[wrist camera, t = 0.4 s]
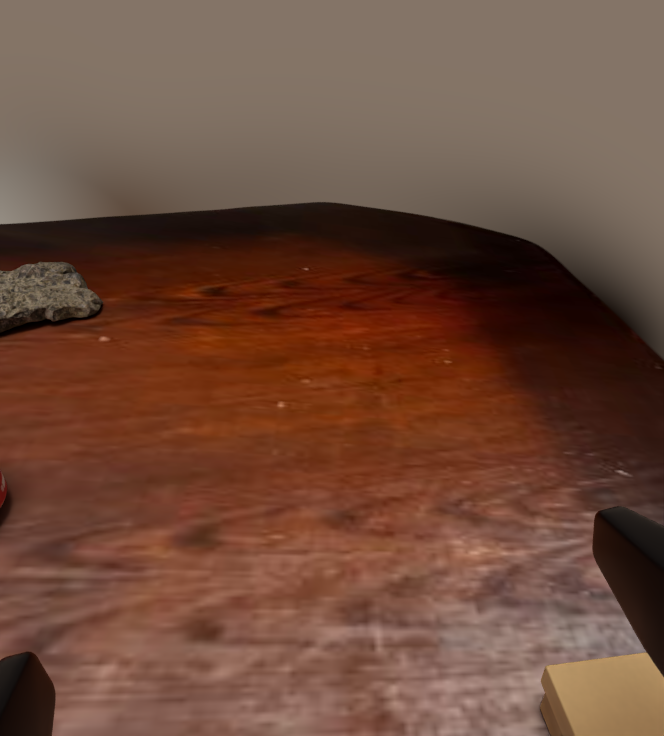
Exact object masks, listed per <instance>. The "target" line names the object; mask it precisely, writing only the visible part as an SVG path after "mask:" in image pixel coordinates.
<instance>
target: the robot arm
mask: <svg viewBox="0 0 664 736" xmlns="http://www.w3.org/2000/svg"><path fill="white" fill-rule="evenodd" d="M592 548H593V555H594V558H595V560H596V563H597V565H598V566H599V568H600V570H601V572H602V574H603V575H604V577H605V579H606V581H607V583H608V584H609V586H610V588H611V590H612V592H613V594H614V595H615V597H616V599H617V601H618V603H619V604H620V606H621V608H622V610H623V612H624V613H625V615H626V617H627V619H628V621H629V622H630V624H631V626H632V628H633V630H634V631H635V633H636V635H637V637H638V639H639V640H640V642H641V644H642V645H643V647H644V649H645V650H646V652H647V653H648V655H649V656H650V658H651V660H652V661H653V663H654V664H655V666H656V667H657V668H658V670H659V671H660V673H661V674H662V676H663V677H664V526H663V525H660V524H658V523H656V522H654V521H652V520H650V519H648V518H646V517H644V516H642V515H640V514H638V513H636V512H634V511H632V510H630V509H628V508H625V507H621V506H617V507H613V508H609V509H605V510H601V511H598V512H597V513H596V515H595V519H594V532H593V546H592ZM54 709H55V689H54V685H53V683H52V681H51V679H50V678H49V676H48V674H47V673H46V671H45V669H44V668H43V666H42V664H41V663H40V661H39V659H38V658H37V656H36V655H35V654H34V653H32V652H24V653H20V654H16V655H12V656H8V657H5V658H3V659H2V660H0V736H52V728H53V719H54Z"/></svg>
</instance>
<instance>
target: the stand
mask: <svg viewBox="0 0 664 736" xmlns="http://www.w3.org/2000/svg"><path fill="white" fill-rule="evenodd" d="M541 683H542V686H543V688H544V691H545V694H544V697H543V700H542V703H541V706H540V709H541V712H542V715H543V717H544V720H545V722H546V725H547V727H548V730H549V732H550V735H551V736H664V677H663V676H662V674H661V673H660V671H659V670H658V668H657V667H656V666H655V664H654V663H653V661H652V660H651V658H650V656H649V655H648V653H647V652H646V653H639V654H631V655H624V656H616V657H608V658H601V659H593V660H586V661H578V662H571V663H563V664H556V665H548V666H546V667H545V670H544V673H543V676H542V679H541Z"/></svg>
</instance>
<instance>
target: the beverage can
mask: <svg viewBox="0 0 664 736" xmlns="http://www.w3.org/2000/svg"><path fill="white" fill-rule="evenodd" d="M6 493H7V484H6V481H5V479H4V477H3V475H2V473H1V470H0V508H1V506H2V504H3V502H4V500H5V497H6Z"/></svg>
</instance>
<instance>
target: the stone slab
mask: <svg viewBox="0 0 664 736" xmlns="http://www.w3.org/2000/svg"><path fill="white" fill-rule="evenodd" d="M102 303H103V301H102V300H101V299H100V298H99V297H98V296H97V295H96V294H95V293H94V292H93V291H91V290H89V289H88V288H87V285H86V282H85V280H84V278H83V277H82V276H81V275H80V274H78V273H77V272H76V269H75V268H74V267H73V265H70V264H68V263H64V262H52V263H51V262H48V263H45V262H39V263H37V264H27V265H24V266H21V267H20V268H17V269H16V270H14V271H0V332H3V331H6V330H9V329H11V328H13V327H16V326H20V325H23V324H25V323H27V322H36V321H42V320H45V319H50V320H51V321H58V320H63V319H66V318H70V317H79V318H83V317H88V316H90V315H93V314H95V313H96V312H97V311H98V310H99V309H100V306H101V304H102Z"/></svg>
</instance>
